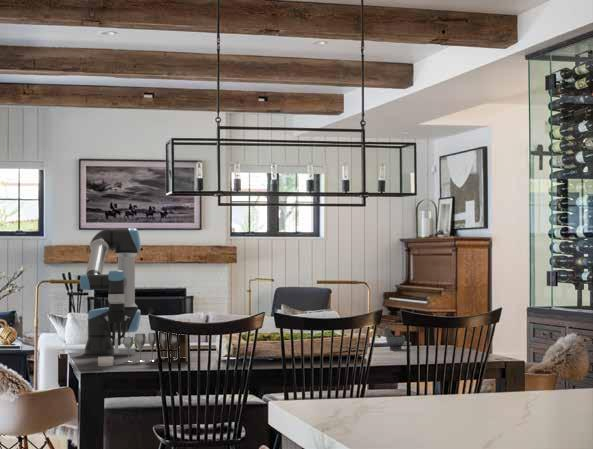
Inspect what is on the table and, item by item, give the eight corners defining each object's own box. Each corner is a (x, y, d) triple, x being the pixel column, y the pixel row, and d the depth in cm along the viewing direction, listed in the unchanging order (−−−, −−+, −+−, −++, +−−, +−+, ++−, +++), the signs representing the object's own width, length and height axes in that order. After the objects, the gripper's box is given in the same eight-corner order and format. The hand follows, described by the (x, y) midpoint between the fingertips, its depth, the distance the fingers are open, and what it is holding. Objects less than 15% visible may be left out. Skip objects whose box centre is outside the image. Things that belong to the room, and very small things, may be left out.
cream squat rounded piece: (98, 365, 443) (98, 356, 443) (114, 364, 444) (114, 356, 444) (97, 366, 436) (97, 358, 436) (112, 366, 437) (112, 357, 437)
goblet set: (124, 363, 449) (124, 334, 449) (122, 361, 454) (122, 333, 455) (182, 360, 458) (182, 332, 459) (180, 359, 464) (180, 331, 464)
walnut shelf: (156, 358, 465) (156, 319, 465) (189, 358, 466) (189, 319, 467) (154, 363, 445) (154, 322, 446) (188, 363, 446) (188, 322, 447)
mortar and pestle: (404, 348, 504) (403, 325, 505) (406, 350, 495) (405, 327, 495) (382, 348, 504) (382, 325, 505) (384, 350, 495) (384, 327, 495)
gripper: (101, 303, 450) (101, 353, 449) (129, 303, 451) (129, 353, 450) (103, 302, 457) (103, 352, 457) (130, 302, 458) (131, 351, 458)
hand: (116, 352), depth 453 cm, fingers closed
